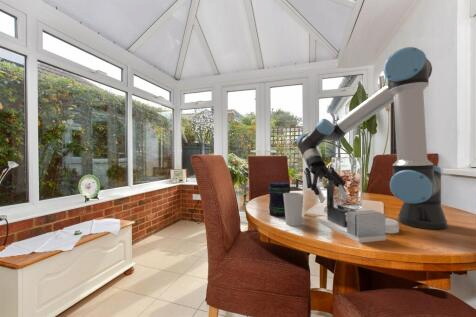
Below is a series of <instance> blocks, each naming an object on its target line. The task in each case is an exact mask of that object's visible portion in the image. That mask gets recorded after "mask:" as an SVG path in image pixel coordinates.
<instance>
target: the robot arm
mask: <svg viewBox="0 0 476 317" xmlns="http://www.w3.org/2000/svg"><path fill="white" fill-rule="evenodd" d="M432 72H433V65H432V63H431V61H430V60H429V59H428V58H427V57H426V54H425V52H424V51H423V50H421V49H420V48H418V47H414V46H407V47H402V48H400V49H398V50H397V49H396V50H395V51H394V52H393V53H391V54H390V55H389V57H388V58H387V59H386V60H385V62H384V64H383V73H384V77H385V78H386V79H387V82H386V85H384V86H383V87H381V88H380V89H379V90H377V91H376V92H375V93H373V94H372V95H371V96H369V97H368V98H367V99H365V100H364V101H362V102H361V103H360V104H358V105H357V106H355V108H353V109H352V110H351V111H349V112H348V113H346V114H345V115H344V116H342V117H340V118H339V119H338V120H337V121H336V122H334V123H332V122H331V121H330V120H328V119H326V118H321V120H319V122H317V123H316V125H315V126H314V127H313V128H312V129H311V130H309V132H308V133H303V134H301V135H299V136H298V137H297V139H296V146H297V148H298V150H299V152H300V153H301V155H302V157H303V159H304V162H305V164H306V166H307V167H305V169H304V171H303V173H304V175H305V179H306V187H307V189H310V190H311V191H313V192H314V194H315V196H317V197H318V200H319V202H320V203H321V204H323V203H324V202H325V200H326V198H325V196H324V194H323V192H322V189H321V187H320V185H318V178H320V177H321V178H324V179H327V180H331V181H334V186H335V187H337V188H336V190H337V192H338V193H339V195H340V197H341V198H342V201H343V202H347V201H348V199H349V196H348V194H347V190H346V188H345V187H344V186H345V185H346V184H347V183H346V181H345V180H344V179H343V178H342V177H341V176H340V175H339V173H338V172H337V171H336V170H335V168H334V166H330V167H328V166H326V164H325V160H324V159H323V157H322V155H321V153H320V152H319V150H318V146H320V145H321V143H323V142H324V141H331V142H338V141H341V140H343V139H344V137H345V136H346V134H348V133H350V132H351V131H352V130H354V129H355V128H356V127H358V126H359V125H361V124H363V123H365V121H367V120H369V119H370V118H371V117H373V116H374V115H376V114H377V113H379V112H380V111H382V110H383V109H384V108H386V107H388V106H389V105H391V104H392V103H393V106H394V107H393V109H394V128H395V145H396V161H395V162H394V163H392V176H391V177H390V180H389V189H390V192H391V193H392V194H393V196H394V197H395V198H396V199H397V200H399V201H401V202H403V203H402V205H401V207H400V210H399V213H398V215H397V216H398V217H397V219H398V220H397V222H399V223H401V224H403V225H406V226H411V227H414V228H420V229H426V230H427V229H429V230H444V229H447V228H448V220H447V219H446V215H445V212H444V211H443V208H442V175H443V173H442V170H441V167H439V166H437V165H434V163H433V162H432V161H430V160H429V158H428V153H427V151H428V150H427V134H426V130H427V129H426V118H425V117H426V115H425V112H426V111H425V97H424V96H425V94H424V91H425V90H426V88H427V87H429V82H430V81H429V79H430V77H431V76H432ZM311 174H312V175H313V177H312V175H311Z"/></svg>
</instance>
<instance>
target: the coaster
mask: <svg viewBox="0 0 476 317" xmlns="http://www.w3.org/2000/svg"><path fill="white" fill-rule="evenodd" d="M399 232H400V222H399V221H398V220H396V219H392V218H388V217H385V234H389V235H391V234H399Z"/></svg>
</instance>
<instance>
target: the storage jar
mask: <svg viewBox="0 0 476 317" xmlns="http://www.w3.org/2000/svg"><path fill="white" fill-rule="evenodd" d="M290 185H291V183H290V182H289V181H269V182H268V195H269V203H268V205H269V206H268V211H269V213H268V214H269V216H271V217H275V218H285V206H284V196H283V194H284V193H291V187H290Z"/></svg>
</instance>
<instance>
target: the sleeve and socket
mask: <svg viewBox="0 0 476 317" xmlns="http://www.w3.org/2000/svg"><path fill="white" fill-rule="evenodd" d="M326 206H327V205H326ZM345 213H347V222H346V221H345ZM326 214H327V215H326V216H327V220H329V221H331V222H333V223H335V224H337V225H340V226H342V227H347V233H349V234H351V235H353V236H355V237H356V236H357V238H363V237H373V236H383V235H386V233H385V218H386V213H383V212H380V211H377V210H374V209H367V210H355V209H353V208H349V207H346V206H343V205H340V204H337V205H336V207H335V206H334V207H332V206H327V213H326Z"/></svg>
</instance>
